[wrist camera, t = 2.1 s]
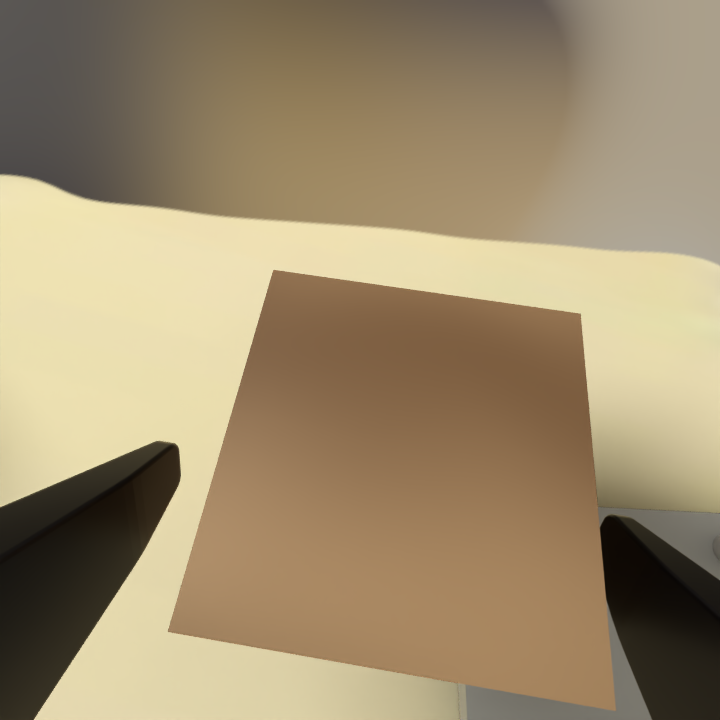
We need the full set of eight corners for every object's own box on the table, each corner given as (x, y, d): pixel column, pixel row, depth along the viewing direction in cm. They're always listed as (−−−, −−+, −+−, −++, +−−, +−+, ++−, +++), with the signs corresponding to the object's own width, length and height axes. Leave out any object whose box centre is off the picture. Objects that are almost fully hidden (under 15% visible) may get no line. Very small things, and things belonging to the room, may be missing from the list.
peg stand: (859, 938, 12) (1055, 1098, 8) (468, 922, 12) (515, 1078, 8) (728, 515, 16) (822, 513, 13) (450, 501, 16) (475, 496, 13)
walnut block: (421, 572, 15) (616, 710, 4) (298, 552, 15) (167, 631, 4) (430, 447, 17) (580, 313, 6) (321, 430, 17) (273, 270, 6)
